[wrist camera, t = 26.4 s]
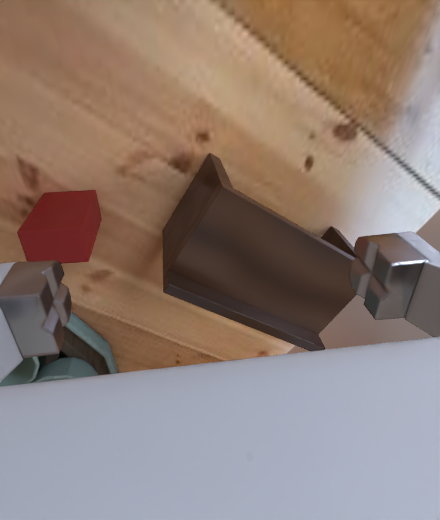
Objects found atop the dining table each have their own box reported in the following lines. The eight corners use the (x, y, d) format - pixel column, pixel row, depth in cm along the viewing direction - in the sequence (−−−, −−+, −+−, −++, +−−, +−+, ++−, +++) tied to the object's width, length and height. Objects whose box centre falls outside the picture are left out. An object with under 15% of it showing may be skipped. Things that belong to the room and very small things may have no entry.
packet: (44, 192, 43) (16, 231, 35) (95, 189, 44) (80, 227, 36) (52, 222, 46) (28, 266, 37) (101, 219, 46) (88, 261, 38)
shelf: (209, 152, 44) (226, 196, 32) (338, 230, 52) (387, 286, 41) (162, 230, 48) (163, 292, 37) (288, 290, 57) (319, 355, 46)
